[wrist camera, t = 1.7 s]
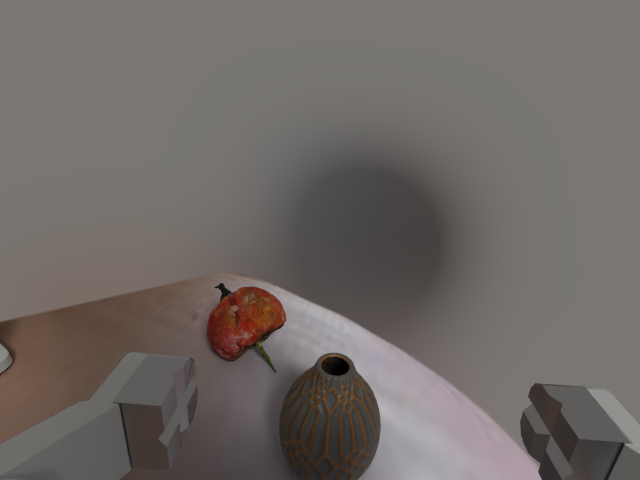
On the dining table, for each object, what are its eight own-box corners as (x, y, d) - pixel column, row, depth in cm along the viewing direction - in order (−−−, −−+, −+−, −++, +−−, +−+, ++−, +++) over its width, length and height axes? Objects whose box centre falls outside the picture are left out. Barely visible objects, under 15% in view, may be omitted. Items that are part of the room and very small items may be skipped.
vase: (267, 435, 29) (268, 342, 26) (347, 411, 32) (358, 324, 29) (296, 526, 24) (303, 421, 20) (392, 488, 26) (412, 389, 23)
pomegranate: (294, 363, 40) (250, 283, 43) (319, 343, 34) (267, 252, 37) (230, 401, 36) (186, 310, 39) (247, 385, 30) (194, 279, 33)
